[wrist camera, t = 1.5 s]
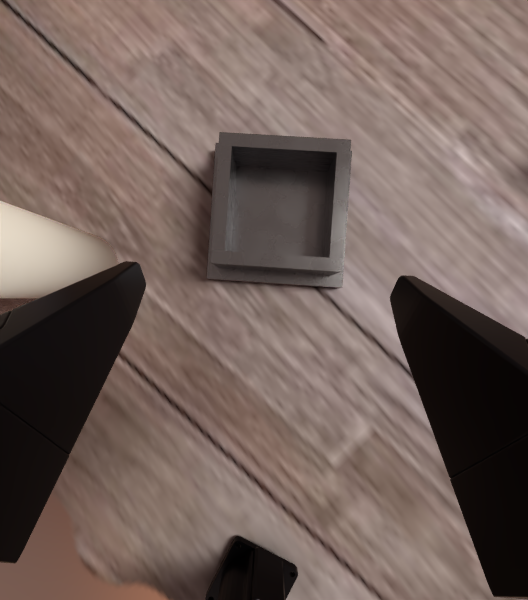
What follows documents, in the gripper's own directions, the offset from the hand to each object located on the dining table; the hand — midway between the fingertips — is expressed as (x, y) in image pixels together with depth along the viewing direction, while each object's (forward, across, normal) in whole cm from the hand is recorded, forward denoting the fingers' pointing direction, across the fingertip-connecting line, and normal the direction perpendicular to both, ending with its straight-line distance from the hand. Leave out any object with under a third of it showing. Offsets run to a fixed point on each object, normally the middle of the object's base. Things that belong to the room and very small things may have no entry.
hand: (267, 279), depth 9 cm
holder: (+15, -1, +4) cm, 16 cm away
